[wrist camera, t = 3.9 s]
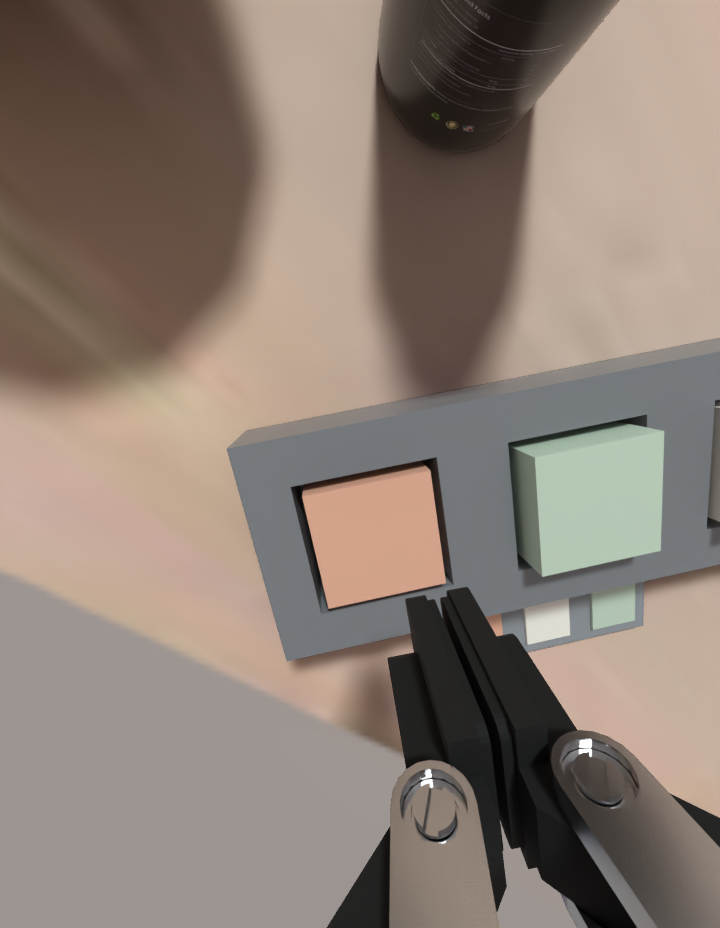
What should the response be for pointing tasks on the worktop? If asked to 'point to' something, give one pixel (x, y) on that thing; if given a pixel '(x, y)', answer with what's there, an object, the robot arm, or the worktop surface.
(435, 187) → the worktop surface
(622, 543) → the sage key
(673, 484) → the keypad
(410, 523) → the terracotta key
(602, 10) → the supplement bottle
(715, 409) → the cream key
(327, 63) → the worktop surface
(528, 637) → the card
